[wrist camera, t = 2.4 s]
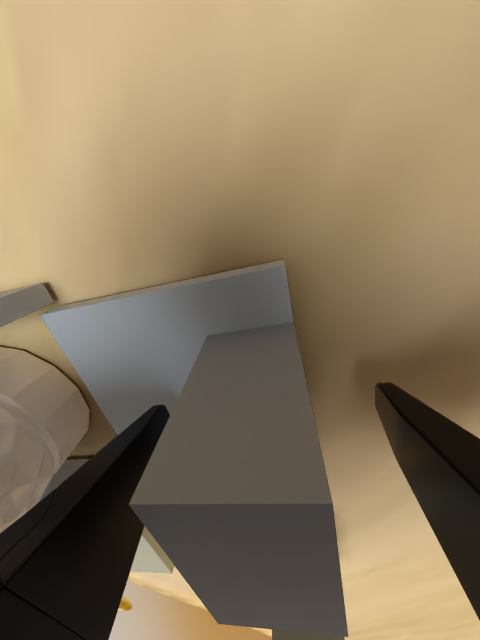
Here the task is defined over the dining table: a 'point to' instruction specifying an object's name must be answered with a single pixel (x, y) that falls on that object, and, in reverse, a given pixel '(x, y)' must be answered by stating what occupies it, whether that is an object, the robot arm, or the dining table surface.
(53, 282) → the dining table surface
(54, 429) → the white cup
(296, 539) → the blue-grey angular bracket
